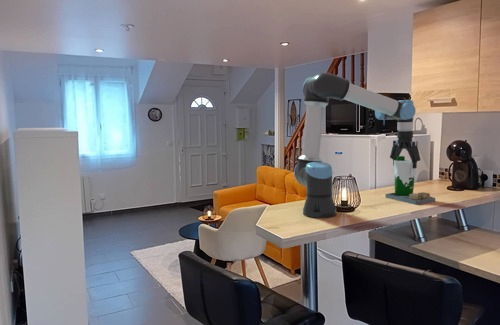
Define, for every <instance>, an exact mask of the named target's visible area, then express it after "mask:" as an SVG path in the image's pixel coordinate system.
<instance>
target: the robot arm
mask: <svg viewBox="0 0 500 325" xmlns="http://www.w3.org/2000/svg"><path fill="white" fill-rule="evenodd" d="M301 88H302V94H303V96H304V99H303V103H304V104H305V105H306V111H305V112H306V113H305V119H304V121H305V122H304V128H303V129H304V130H303V131H304V132H303V139H302V149H301V150H302V151H301V154H300V156H299V157H297V159H298V160H297V164H296V165H295V167H294V170H293V176H294V179H295V180H296V181H297V182H298V183H299V184H300V185H301V186H304V187H306V197H305V201H304V205H303V207H302V214H303V215H304V216H305V215H306V217H308V216H310V217H309V218H315V217H316V218H319V219H320V218H323V219H325V218H332V217H334V216H336V215H337V207H336V205H335V201H334V199H333V169H332V168H333V167H332V165H331V164H330V163H327V162H323V160H322V159H321V157H320V153H321V145H322V143H321V142H322V137H323V136H322V134H323V126H324V116H325V108H326V107H327V106H328V105H329V100H330V99H334V100H338V101H343V100H345V101H347V102H350V103H353V104H356V105H359V106H362V107H365V108H368V109H371V110H373V111H374V116H375V119H377V120H380V121H381V120H382V121H386V120H388V121H389V120H396V121H397V123H396V124H397V129H396V130H397V132H396V133H397V134H396V138H397V140H393V141H392V147H391V152H390V156H389V158H390V159H392V165H393V173H395V161H396V157H397V156H401V153H402V151H403V150H404V149H405V150H406V151H407V153H408V155H409V157H410V160H412V161H411V172H410V175H414V176H415V175H416V171H417V166H418V165H417V163H418V162H420V161H421V156H420V152H419V147H418V145H419V143H418V141H413V138H414V131H413V130H414V117H415V115H416V107H415V105H414V104H415V103H414V101H413V100H412V99H404V100H403V99H402V100H396V99H393V98H391V97H388V96H385V95H383V94H380V93H378V92H375V91H372V90H369V89H366V88H364V87H361V86H358V85H355V84H354V83H351V81H350V80H349V79H347V78H344V77H341V76H339V75H336V74H333V73H330V72H320V73H318V74H314V75H311V76H310V77H308V78H306V79H305V80H304V83H303V85H302V87H301ZM316 218H315V219H316Z"/></svg>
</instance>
